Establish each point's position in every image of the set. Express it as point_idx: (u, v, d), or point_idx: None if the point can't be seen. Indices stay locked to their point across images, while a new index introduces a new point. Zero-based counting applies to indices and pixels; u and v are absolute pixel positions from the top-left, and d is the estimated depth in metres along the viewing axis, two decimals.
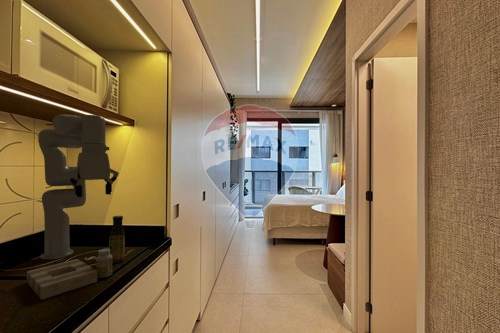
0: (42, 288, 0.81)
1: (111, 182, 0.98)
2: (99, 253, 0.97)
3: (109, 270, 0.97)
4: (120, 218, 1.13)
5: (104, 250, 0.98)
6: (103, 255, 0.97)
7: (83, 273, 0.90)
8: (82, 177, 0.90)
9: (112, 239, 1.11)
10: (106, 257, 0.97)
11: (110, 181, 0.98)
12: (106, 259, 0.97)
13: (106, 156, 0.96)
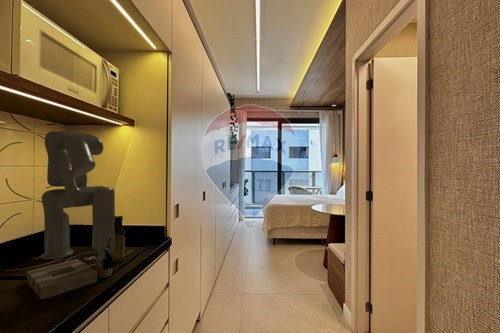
0: (42, 288, 0.81)
1: None
2: (99, 253, 0.97)
3: (109, 270, 0.97)
4: (120, 218, 1.13)
5: None
6: (103, 255, 0.97)
7: (83, 273, 0.90)
8: None
9: None
10: None
11: None
12: None
13: None
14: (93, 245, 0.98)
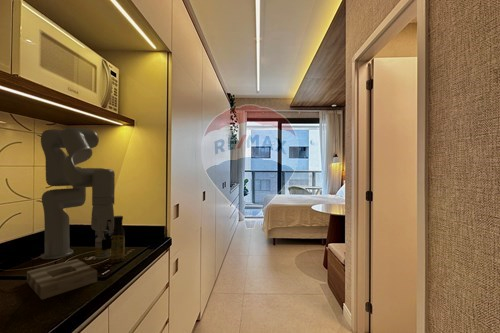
0: (42, 288, 0.81)
1: None
2: (98, 234, 0.97)
3: (108, 251, 0.98)
4: (120, 218, 1.13)
5: None
6: (102, 236, 0.97)
7: (83, 273, 0.90)
8: (113, 228, 0.97)
9: (112, 239, 1.11)
10: None
11: None
12: None
13: None
14: (92, 226, 0.98)
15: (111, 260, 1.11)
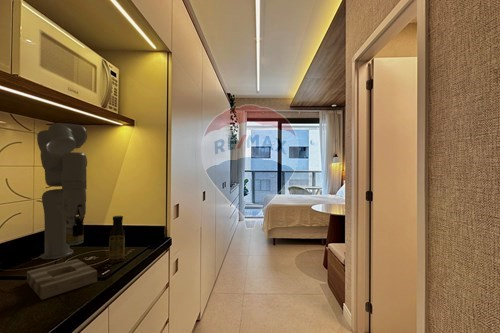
0: (42, 288, 0.81)
1: None
2: (69, 220, 0.93)
3: (80, 238, 0.94)
4: (120, 218, 1.13)
5: None
6: (73, 222, 0.93)
7: (83, 273, 0.90)
8: (85, 213, 0.94)
9: (112, 239, 1.11)
10: None
11: None
12: None
13: None
14: (63, 212, 0.94)
15: (111, 260, 1.11)
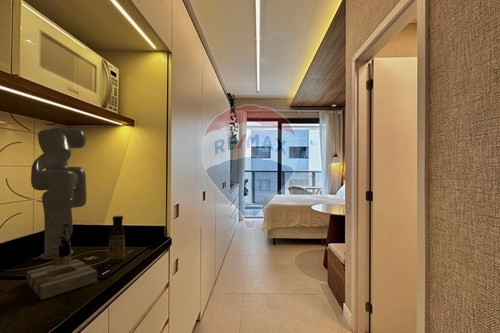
0: (42, 288, 0.81)
1: None
2: (55, 240, 0.91)
3: (66, 258, 0.92)
4: (120, 218, 1.13)
5: None
6: None
7: (83, 273, 0.90)
8: (71, 233, 0.92)
9: (112, 239, 1.11)
10: None
11: None
12: None
13: None
14: (50, 232, 0.92)
15: (111, 260, 1.11)
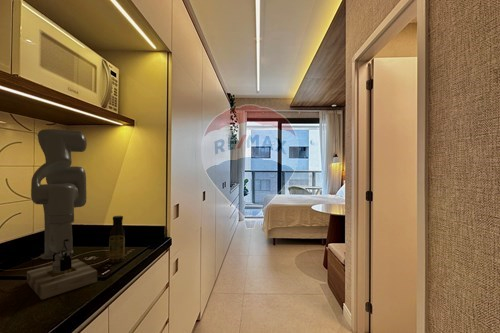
0: (42, 288, 0.81)
1: (61, 250, 0.97)
2: (55, 258, 0.91)
3: None
4: (120, 218, 1.13)
5: None
6: None
7: (83, 273, 0.90)
8: None
9: (112, 239, 1.11)
10: None
11: None
12: None
13: None
14: (50, 246, 0.92)
15: (111, 260, 1.11)
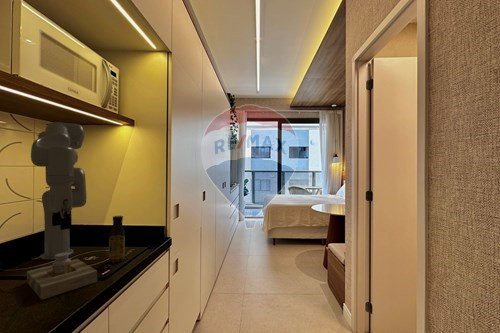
0: (42, 288, 0.81)
1: None
2: (55, 258, 0.91)
3: None
4: (120, 218, 1.13)
5: (61, 254, 0.93)
6: (60, 260, 0.91)
7: (83, 273, 0.90)
8: (71, 208, 0.92)
9: (112, 239, 1.11)
10: (63, 262, 0.92)
11: None
12: (63, 264, 0.91)
13: None
14: (49, 207, 0.92)
15: (111, 260, 1.11)
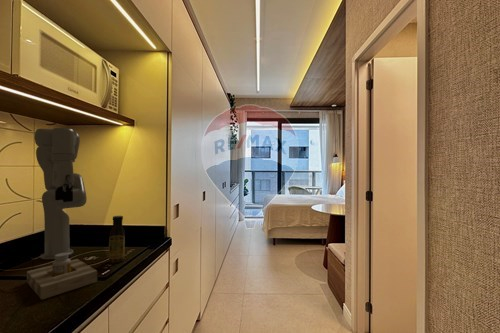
0: (42, 288, 0.81)
1: (63, 188, 1.08)
2: (55, 258, 0.91)
3: None
4: (120, 218, 1.13)
5: (61, 254, 0.93)
6: (60, 260, 0.91)
7: (83, 273, 0.90)
8: (72, 183, 1.02)
9: (112, 239, 1.11)
10: (63, 262, 0.92)
11: None
12: (63, 264, 0.91)
13: None
14: (53, 182, 1.03)
15: (111, 260, 1.11)
